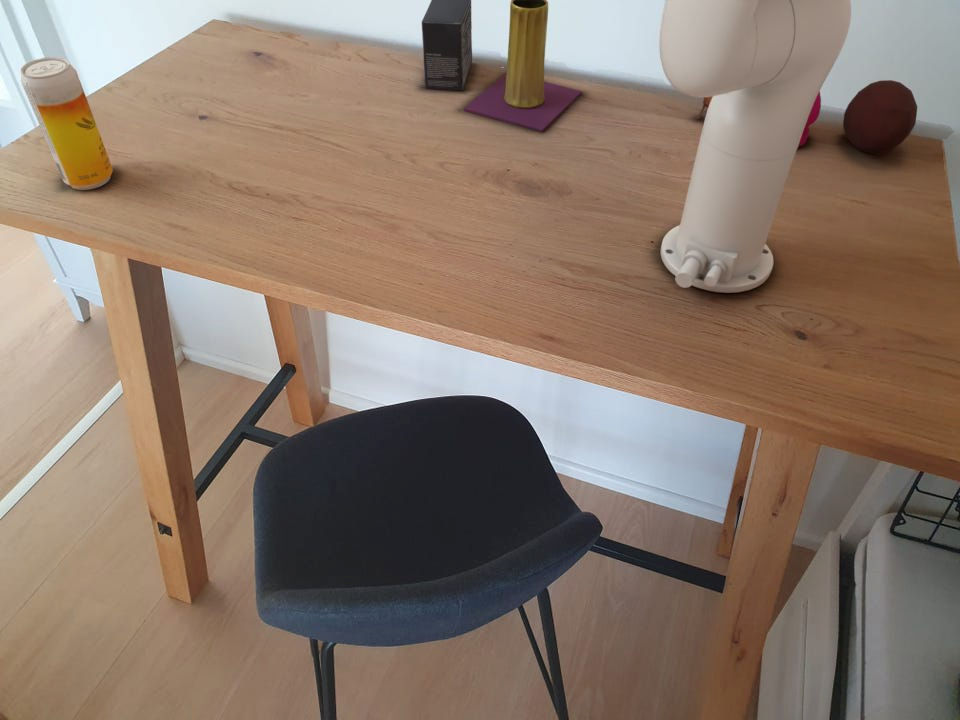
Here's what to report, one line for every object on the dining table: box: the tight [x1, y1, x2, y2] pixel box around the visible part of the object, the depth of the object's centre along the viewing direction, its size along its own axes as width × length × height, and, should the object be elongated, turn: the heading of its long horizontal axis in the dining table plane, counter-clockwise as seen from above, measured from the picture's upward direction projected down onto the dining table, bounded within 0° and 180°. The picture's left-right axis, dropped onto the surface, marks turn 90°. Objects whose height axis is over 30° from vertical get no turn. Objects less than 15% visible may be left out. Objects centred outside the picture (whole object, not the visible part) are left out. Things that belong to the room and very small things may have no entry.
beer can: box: [20, 56, 114, 191], centre depth 94 cm, size 6×6×15 cm
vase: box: [504, 0, 549, 108], centre depth 111 cm, size 6×6×14 cm
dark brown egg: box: [842, 79, 918, 154], centre depth 104 cm, size 9×12×9 cm
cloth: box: [463, 73, 583, 133], centre depth 116 cm, size 14×13×1 cm
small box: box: [421, 0, 473, 92], centre depth 119 cm, size 11×6×10 cm, turn 173°
